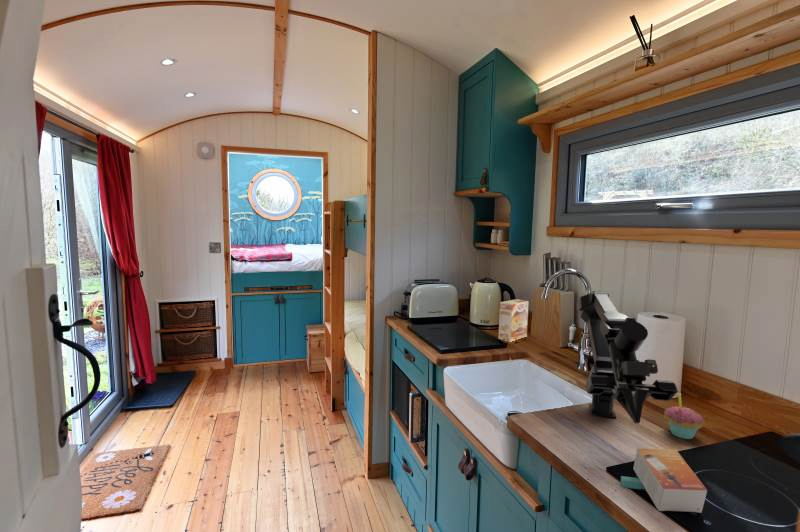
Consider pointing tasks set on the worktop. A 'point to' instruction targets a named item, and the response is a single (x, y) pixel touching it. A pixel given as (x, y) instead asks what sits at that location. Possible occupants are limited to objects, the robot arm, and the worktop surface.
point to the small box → (669, 480)
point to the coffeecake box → (513, 320)
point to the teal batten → (631, 483)
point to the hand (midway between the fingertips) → (637, 422)
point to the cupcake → (683, 420)
